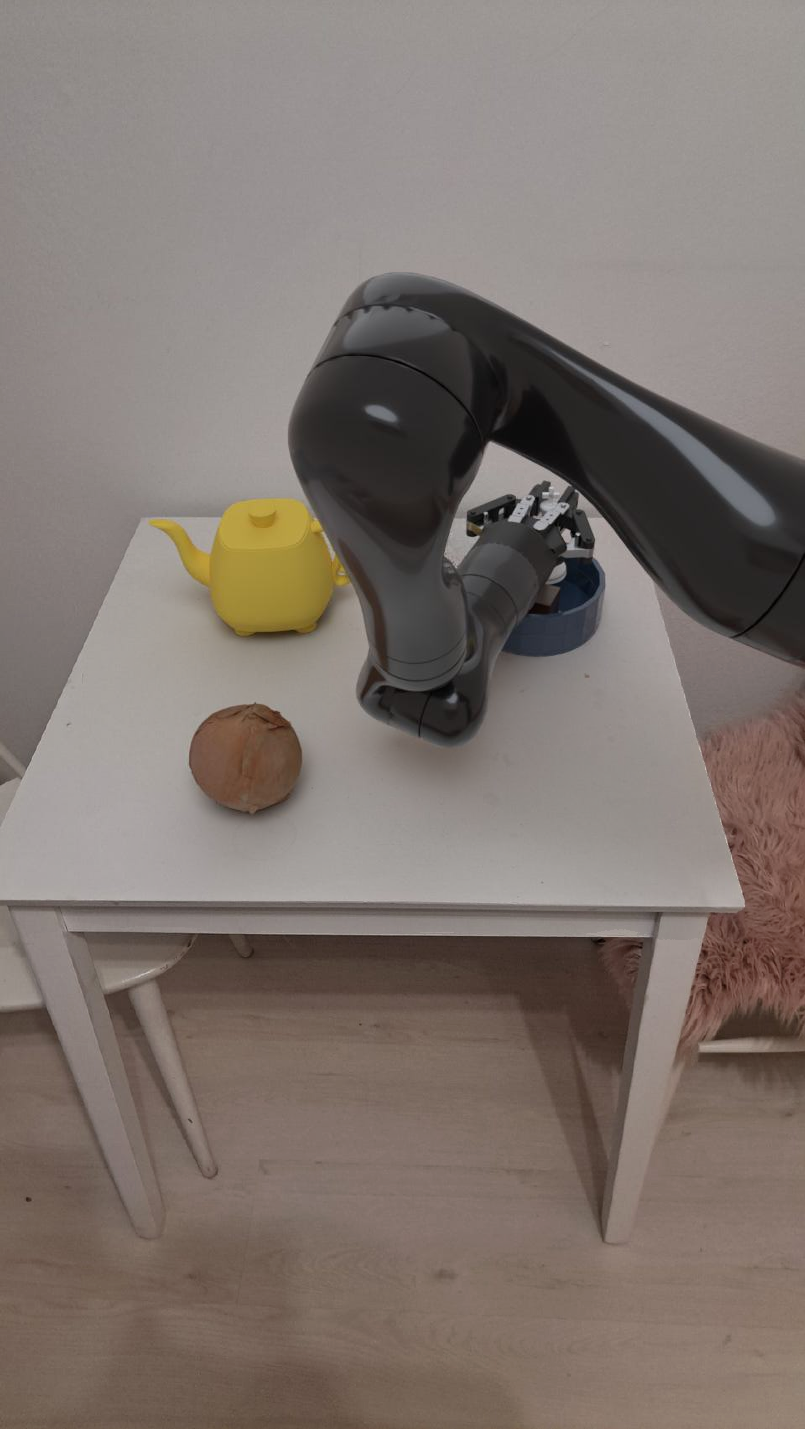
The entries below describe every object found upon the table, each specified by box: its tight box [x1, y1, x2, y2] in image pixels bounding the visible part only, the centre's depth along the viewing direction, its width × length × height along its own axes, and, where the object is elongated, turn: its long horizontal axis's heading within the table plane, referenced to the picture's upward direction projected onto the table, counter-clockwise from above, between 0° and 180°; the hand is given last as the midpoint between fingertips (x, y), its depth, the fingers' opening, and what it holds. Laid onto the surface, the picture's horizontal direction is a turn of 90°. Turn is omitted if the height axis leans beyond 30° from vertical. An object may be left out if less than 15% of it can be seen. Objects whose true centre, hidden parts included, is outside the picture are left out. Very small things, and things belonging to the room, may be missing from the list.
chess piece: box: [540, 486, 566, 585], centre depth 95 cm, size 5×5×10 cm
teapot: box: [147, 497, 351, 637], centre depth 97 cm, size 14×20×13 cm
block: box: [527, 584, 561, 615], centre depth 97 cm, size 4×4×4 cm
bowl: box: [501, 541, 607, 657], centre depth 98 cm, size 14×14×5 cm
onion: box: [188, 701, 303, 815], centre depth 79 cm, size 10×9×10 cm
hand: (558, 492), depth 95 cm, fingers closed on chess piece
